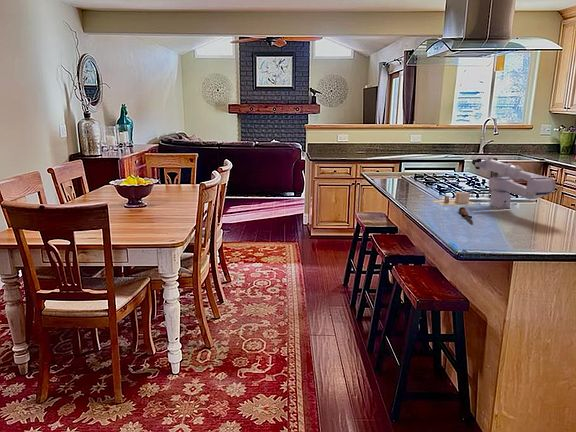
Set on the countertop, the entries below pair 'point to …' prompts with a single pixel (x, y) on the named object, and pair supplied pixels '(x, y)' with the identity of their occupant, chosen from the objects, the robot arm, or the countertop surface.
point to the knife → (465, 215)
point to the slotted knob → (462, 197)
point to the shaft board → (451, 202)
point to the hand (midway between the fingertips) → (479, 161)
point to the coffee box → (494, 174)
